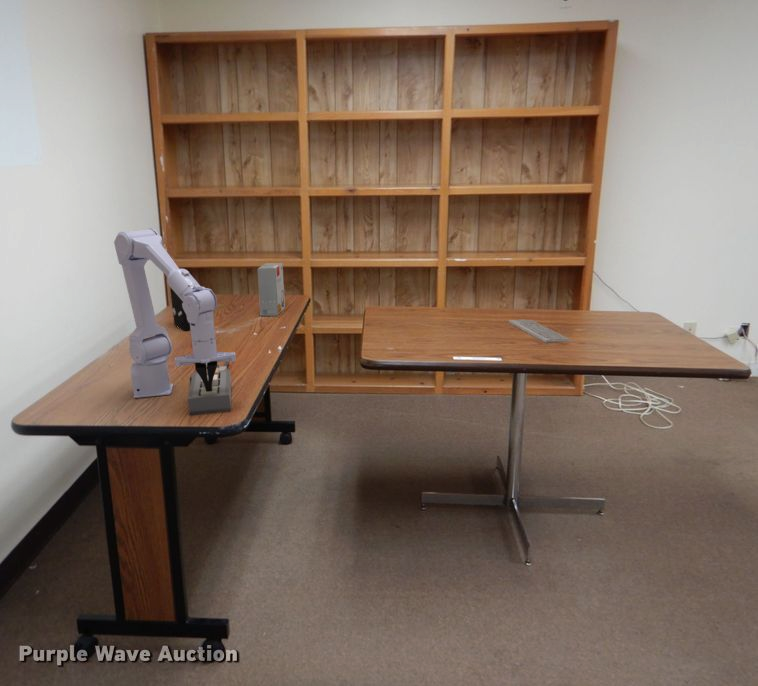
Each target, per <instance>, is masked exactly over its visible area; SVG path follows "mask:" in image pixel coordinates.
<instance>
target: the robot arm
mask: <svg viewBox="0 0 758 686" xmlns="http://www.w3.org/2000/svg"><path fill="white" fill-rule="evenodd" d="M113 242H114V243H113V244H114V248H115V252H116V257H117V261H118V264H119V265H121V267H122V272H123V277H124V280H125V285H126V289H127V294H128V298H129V302H130V306H131V310H132V314H133V318H134V322H135V329H134V330H133V332H131V334H130V335H129V336H128V340H129V341H128V342H129V353H130V354H129V355H130V357H131V359H132V360H133V361H134V362H131V363H130V364H131V365H130V379H131V385H132V390H133V398H135V399H138V398H139V399H140V398H148V397H159V396H168V395H171V394H172V390H173V387H174V384H173V383H171V382H170V375H169V366H168V359H170V355H171V354H172V352H173V343H172V340H171V338H170V337H169V335H168V331H167V328H165V327H162V326H161V325H159V324H158V322H157V318H156V314H155V310H154V309H155V308H154V305H153V300H152V296H151V293H150V287H149V282H148V279H147V275H146V270H145V265H146V264H147V262H148V261H149V260H150V261H151V262H152V263H153V264H154V265H155V266H156V267H157V268H158V269H159V270H160V271H161V272H162V273H163V274H165V276H166V277H167V281H166V283H167V285H168V286H169V288H170V287H171V288H172V290H173V291H174V292H175V293H176V294H177V295H178V296H179V298H180V299H181V300H182V301H183V303H182V307H183V310H184V312H185V313H186V316H187V320H188V322H189V323H190V330H189V331H190V338H191V343H192V344H191V345H192V354H189V355H182V356H175V358H174V363H175V364H174V366H175V367H181V366H188V365H189V366H190V365H194V367H195V368H194V370H195V369H196V371H197V373H198V374H199V376H200V377H201V379H202V381H203V383H204V386H205V389H206V392H208V391H212V381H213V377H214V374H215V371H216V368H217V365H218V363H223V362H224V363H225V362H226V361H230V362H231V363H232V362H236V361H237V358H236V352H235V351H231V352H227V351H226V352H222V351H221V352H220V351H217V350H218V349H217V348H218V347H217V341H216V330H215V321H214V318H215V317H214V311H216V309H217V307H218V306H217V305H218V299H217V296H216V294H215V293H214V292H213V290H212V289H211V288H207V287H205V286H201V285H200V283H199V282H198V281H197V280H196V278H195V277H194V276H193V275H192V274H191V273H190V271H188V270H187V269H185V268H180V267H178V265H177V264H176V262H175V261H174V259H173V258H172V257H171V256H170V254H169V253H168V252H167V250H166V249H165V247H164V241H163V237H162V236H161V235H160V233H159V232H158V231H157V230H156V229H154V228H148V229H140V230H132V231H130V230H129V231H120V232H118V233H117V235H116V237H115V239H114V241H113ZM206 363H207V367H206ZM207 373H208V377H207Z"/></svg>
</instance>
